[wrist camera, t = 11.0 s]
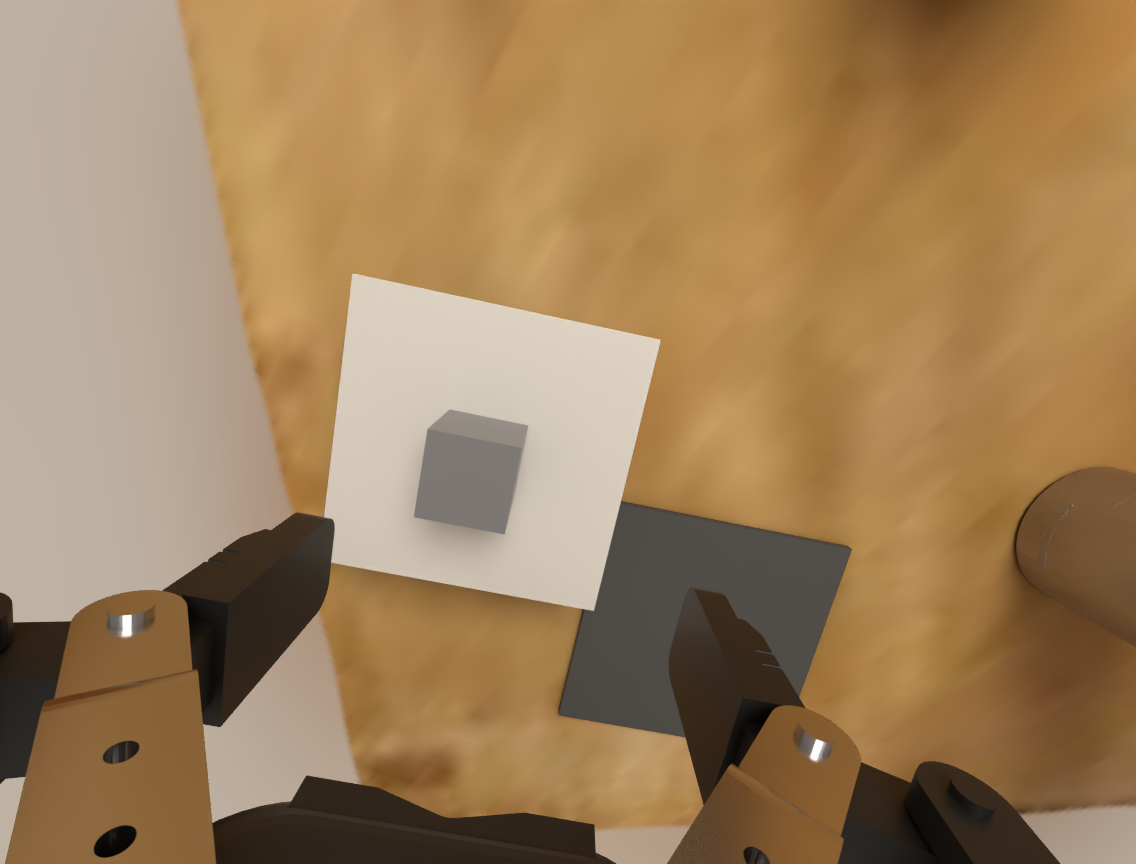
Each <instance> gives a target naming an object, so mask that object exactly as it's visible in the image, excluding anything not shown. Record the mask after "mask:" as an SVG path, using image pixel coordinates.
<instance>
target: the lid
mask: <svg viewBox="0 0 1136 864" xmlns="http://www.w3.org/2000/svg"><path fill="white" fill-rule="evenodd" d="M660 341H661V340H659V339H655V338H650V337H646V336H641V335H636V334H632V333H627V332H623V331H618V330H613V329H609V328H604V327H599V326H595V325H590V324H585V323H581V322H576V321H572V320H567V319H562V318H558V317H553V316H548V315H544V314H539V313H535V312H530V311H525V310H521V309H516V308H511V307H507V306H502V305H498V304H493V303H488V302H484V301H479V300H474V299H470V298H465V297H460V296H456V295H451V294H447V293H442V292H437V291H433V290H428V289H423V288H419V287H414V286H410V285H405V284H400V283H396V282H391V281H386V280H382V279H377V278H372V277H368V276H363V275H359V274H352V283H351V291H350V300H349V309H348V317H347V326H346V334H345V343H344V351H343V360H342V369H341V377H340V386H339V394H338V403H337V411H336V420H335V429H334V437H333V446H332V454H331V463H330V471H329V480H328V489H327V497H326V506H325V514H324V517H325V518H330V519H333V521H334V525H335V532H334V541H333V550H332V559H331V563H336V564H341V565H347V566H352V567H358V568H363V569H369V570H374V571H379V572H385V573H390V574H396V575H401V576H407V577H412V578H417V579H423V580H428V581H434V582H439V583H445V584H450V585H455V586H461V587H466V588H472V589H477V590H483V591H488V592H494V593H499V594H504V595H510V596H515V597H521V598H526V599H532V600H537V601H542V602H548V603H553V604H559V605H564V606H570V607H575V608H580V609H586V610H591V611H594V608H595V604H596V600H597V596H598V592H599V588H600V584H601V580H602V576H603V572H604V568H605V564H606V560H607V556H608V552H609V547H610V543H611V539H612V535H613V531H614V527H615V523H616V519H617V515H618V511H619V507H620V503H621V499H622V495H623V491H624V487H625V483H626V479H627V475H628V470H629V466H630V462H631V458H632V454H633V450H634V446H635V442H636V438H637V434H638V430H639V426H640V422H641V418H642V414H643V410H644V406H645V402H646V398H647V393H648V389H649V385H650V381H651V377H652V373H653V369H654V365H655V361H656V357H657V353H658V349H659V345H660Z"/></svg>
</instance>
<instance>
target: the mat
mask: <svg viewBox="0 0 1136 864" xmlns="http://www.w3.org/2000/svg"><path fill="white" fill-rule="evenodd" d="M851 550H852V549H851V548H849V547H848V546H844V545H839V544H834V543H829V542H824V541H819V540H814V539H809V538H804V537H799V536H794V535H789V534H784V533H779V532H774V531H769V530H764V529H759V528H754V527H748V526H743V525H738V524H733V523H728V522H723V521H718V520H713V519H708V518H703V517H698V516H693V515H688V514H683V513H678V512H673V511H668V510H663V509H658V508H653V507H648V506H642V505H637V504H632V503H627V502H622V501H621V503H620V507H619V511H618V515H617V519H616V523H615V527H614V531H613V535H612V539H611V543H610V547H609V552H608V556H607V560H606V564H605V568H604V572H603V576H602V580H601V584H600V588H599V592H598V596H597V600H596V604H595V608H594V611H591V610H586V609H583V612H582V617H581V621H580V625H579V629H578V633H577V637H576V641H575V645H574V649H573V654H572V658H571V662H570V666H569V670H568V674H567V678H566V682H565V687H564V691H563V695H562V699H561V703H560V707H559V715H560V716H566V717H572V718H578V719H584V720H589V721H595V722H601V723H607V724H613V725H618V726H624V727H630V728H636V729H641V730H647V731H653V732H659V733H665V734H670V735H676V736H682V737H685V733H684V730H683V726H682V722H681V719H680V715H679V711H678V707H677V704H676V700H675V696H674V692H673V689H672V685H671V681H670V677H669V655H670V649H671V645H672V641H673V638H674V634H675V630H676V627H677V623H678V620H679V616H680V612H681V609H682V605H683V602H684V598H685V595H686V593H687V591H688V589H689V588H697V589H702V590H707V591H713V592H718V593H723V594H724V595H725V596H726V598H727V599H728V601H729V603H730V605H731V607H732V609H733V610H734V612H735V614H736V616H737V618H738V619H742V620H746V621H747V622H748V623H749V624H750V625H751V626H752V627H753V628H755V629H756V630H757V631H758V632H759V633H760V634H761V635H762V636H763V637H764V639H765V641H766V642H767V644H768V646H769V648H770V649H771V651H772V655H774V656H775V658H776V659H777V661H778V663H779V664H780V669H783V671H784V673H785V675H786V676H787V678H788V680H789V681H790V683H791V685H792V686H793V688H794V690H795V691H796V693H797V695H798V697H799V696H800V693H801V690H802V687H803V685H804V682H805V679H806V676H807V673H808V671H809V668H810V665H811V662H812V659H813V657H814V654H815V651H816V648H817V645H818V643H819V640H820V637H821V634H822V631H823V629H824V626H825V623H826V620H827V617H828V615H829V612H830V609H831V606H832V603H833V601H834V598H835V595H836V592H837V590H838V587H839V584H840V581H841V578H842V576H843V573H844V570H845V567H846V564H847V562H848V559H849V556H850V553H851Z"/></svg>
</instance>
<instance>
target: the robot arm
mask: <svg viewBox="0 0 1136 864" xmlns="http://www.w3.org/2000/svg"><path fill="white" fill-rule="evenodd" d="M334 532H335V525H334V521H333V519H330V518H325V517H320V516H315V515H309V514H304V513H298V512H297V513H295V514H293V515H292V516H290V517H289V518H287V519H286V520H285V521H284V522H282V523H281V524H279V525H278V526H276V527H275V528H274V529H272V530H267V529H264V530H262V531H258V532H255V533H252V534H249V535H246V536H243V537H241V538H239V539H238V540H236V541H235V542H233V543H232V544H230V545H229V546H227V547H226V548H224V549H223V552H218V553H217V554H216V555H214V556H213V557H211V558H210V559H209V560H208V562H204V563H202V564H201V565H199V566H198V567H196V568H195V569H193V570H192V571H191V572H189V573H188V574H186V575H185V576H183V577H182V578H180V579H179V580H177V581H176V582H175V583H173V584H171V585H170V586H169V587H167V588H165V589H164V590H163V591H157V590H141V591H132V592H126V593H120V594H116V595H112V596H109V597H106V598H103V599H101V600H98V601H96V602H94V603H92V604H90V605H88V606H86V607H85V608H83V609H82V610H80V611H79V612H78V613H77V614H76V615H75V616H74V617H73V619H72V621H70V622H19V623H13V611H12V610H13V609H12V600H11V599H10V597H8V596H7V595H5V594H3V593H0V784H1V783H2V782H3V781H4V780H5V779H8V778H17V777H26V778H25V781H24V785H23V790H22V794H21V798H20V803H19V807H18V811H17V815H16V819H15V823H14V828H13V832H12V836H11V840H10V844H9V849H8V853H7V857H6V862H5V864H616V863H614V862H613V861H611V860H609V859H608V858H606V857H604V856H602V855H600V854H597V853H596V852H595V830H594V824H588V823H582V822H576V821H570V820H564V819H558V818H553V817H547V816H541V815H535V814H529V813H515V814H502V815H490V816H477V817H464V818H446V817H443V816H440V815H438V814H435V813H433V812H431V811H429V810H426V809H424V808H422V807H420V806H418V805H415V804H413V803H411V802H409V801H406V800H404V799H402V798H400V797H398V796H395V795H393V794H391V793H389V792H386V791H384V790H382V789H380V788H377V787H371V786H365V785H359V784H353V783H347V782H341V781H335V780H330V779H324V778H318V777H312V776H306V777H305V779H304V780H303V782H302V784H301V786H300V787H299V789H298V791H297V793H296V794H295V796H294V798H293V800H292V801H291V802H281V803H275V804H270V805H264V806H259V807H256V808H252V809H249V810H245V811H241V812H239V813H236V814H233V815H231V816H228V817H225V818H223V819H220V820H218V821H216V822H214V823H212V815H211V804H210V794H209V783H208V772H207V762H206V752H205V741H204V730H203V724H205V725H211V726H217V727H221V726H222V725H223V723H224V722H225V721H226V720H227V719H228V717H229V716H230V715H231V714H232V713H233V711H234V710H235V709H236V708H237V707H238V706H239V704H240V703H241V702H242V701H243V700H244V698H245V697H246V696H247V695H248V694H249V692H251V690H252V689H253V688H254V687H255V686H256V684H257V683H258V682H259V681H260V680H261V678H262V677H263V676H264V675H265V674H266V673H267V671H268V670H269V669H270V668H271V667H272V665H273V664H274V663H275V662H276V661H277V660H278V659H279V657H280V656H281V655H282V654H283V653H284V651H285V650H286V649H287V648H288V647H289V646H290V644H291V643H292V642H293V641H294V640H295V638H296V637H297V636H298V635H299V634H300V633H301V631H302V630H303V629H304V628H305V626H306V625H307V624H308V623H309V622H310V621H311V620H312V618H313V617H314V616H315V615H316V614H317V612H318V611H319V609H320V608H321V606H322V604H323V602H324V599H325V596H326V593H327V590H328V585H329V577H330V568H331V559H332V550H333V541H334ZM1016 552H1017V559H1018V563H1019V566H1020V568H1021V570H1022V573H1023V574H1024V576H1025V577H1026V578H1027V580H1028V581H1029V582H1030V583H1031V584H1032V585H1033V586H1035V587H1036V588H1037V589H1039V590H1040V591H1041V592H1043V593H1045V594H1047V595H1048V596H1050V597H1052V598H1053V599H1055V600H1057V601H1058V602H1060V603H1062V604H1064V605H1065V606H1067V607H1069V608H1070V609H1072V610H1074V611H1076V612H1077V613H1079V614H1081V615H1082V616H1084V617H1086V618H1088V619H1089V620H1091V621H1093V622H1094V623H1096V624H1097V625H1099V626H1101V627H1102V628H1104V629H1106V630H1108V631H1109V632H1111V633H1113V634H1114V635H1116V636H1118V637H1120V638H1121V639H1123V640H1125V641H1126V642H1128V643H1130V644H1132V645H1133V646H1135V647H1136V474H1135V473H1131V472H1127V471H1124V470H1119V469H1115V468H1092V469H1086V470H1081V471H1078V472H1076V473H1073V474H1071V475H1068V476H1066V477H1064V478H1062V479H1061V480H1059V481H1057V482H1056V483H1054V484H1052V485H1051V486H1050V487H1049V488H1047V489H1046V490H1045V491H1044V492H1043V493H1042V494H1041V495H1039V496H1038V498H1037V499H1036V500H1035V501H1034V503H1033V504H1032V505H1031V506H1030V508H1029V509H1028V511H1027V513H1026V515H1025V516H1024V518H1023V520H1022V522H1021V525H1020V528H1019V532H1018V535H1017V544H1016ZM669 677H670V681H671V685H672V689H673V692H674V696H675V700H676V704H677V707H678V711H679V715H680V719H681V722H682V726H683V730H684V733H685V737H686V741H687V745H688V748H689V752H690V756H691V759H692V763H693V767H694V771H695V774H696V778H697V782H698V785H699V789H700V793H701V797H702V800H703V804H704V806H703V808H702V809H701V811H700V812H699V814H698V816H697V817H696V819H695V820H694V822H693V824H692V825H691V827H690V828H689V830H688V831H687V833H686V835H685V836H684V838H683V839H682V841H681V843H680V844H679V846H678V847H677V849H676V850H675V852H674V854H673V855H672V857H671V858H670V860H669V862H668V863H667V864H1060V863H1059V862H1058V860H1057V859H1056V858H1055V857H1054V856H1053V854H1052V853H1051V852H1050V851H1049V850H1048V848H1047V847H1046V846H1045V845H1044V844H1043V842H1042V841H1041V840H1040V839H1039V838H1038V836H1037V835H1036V834H1035V833H1034V832H1033V830H1032V829H1031V828H1030V827H1029V826H1028V825H1027V823H1026V822H1025V821H1024V820H1023V819H1022V817H1021V816H1020V815H1019V814H1018V813H1017V811H1016V810H1015V809H1014V808H1013V807H1012V806H1011V805H1010V804H1009V803H1008V802H1007V801H1006V800H1005V799H1004V798H1003V797H1002V796H1001V795H999V794H998V793H997V792H996V791H995V790H993V789H992V788H991V787H989V786H988V785H986V784H985V783H984V782H982V781H980V780H979V779H977V778H976V777H974V776H972V775H970V774H969V773H967V772H965V771H963V770H961V769H958V768H956V767H953V766H951V765H948V764H944V763H941V762H934V761H928V762H923V763H921V764H920V765H919V766H918V768H917V770H916V772H915V775H914V777H913V779H912V782H911V783H910V782H907V781H905V780H903V779H900V778H898V777H895V776H893V775H890V774H888V773H885V772H883V771H881V770H878V769H876V768H873V767H871V766H869V765H866V764H864V763H862V762H861V757H860V753H859V751H858V749H857V747H856V745H855V744H854V742H853V741H852V740H851V738H850V737H849V736H848V735H847V734H846V733H845V732H844V731H843V730H842V729H841V728H839V727H838V726H837V725H836V724H834V723H833V722H831V721H830V720H828V719H827V718H825V717H824V716H822V715H820V714H818V713H816V712H813V711H811V710H809V709H806V708H805V707H804V705H803V703H802V702H801V700H800V698H799V697H798V695H797V693H796V691H795V690H794V688H793V686H792V685H791V683H790V681H789V680H788V678H787V676H786V675H785V673H784V671H783V669H780V664H779V663H778V661H777V659H776V658H775V656H774V655H772V651H771V649H770V648H769V646H768V644H767V642H766V641H765V639H764V637H763V636H762V635H761V634H760V633H759V632H758V631H757V630H756V629H755V628H753V627H752V626H751V625H750V624H749V623H748V622H747V621H746V620H742V619H738V618H737V616H736V614H735V612H734V610H733V609H732V607H731V605H730V603H729V601H728V599H727V598H726V596H725V595H724V594H723V593H718V592H713V591H707V590H702V589H697V588H689V589H688V591H687V593H686V595H685V598H684V602H683V605H682V609H681V612H680V616H679V620H678V623H677V627H676V630H675V634H674V638H673V641H672V645H671V649H670V655H669Z"/></svg>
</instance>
